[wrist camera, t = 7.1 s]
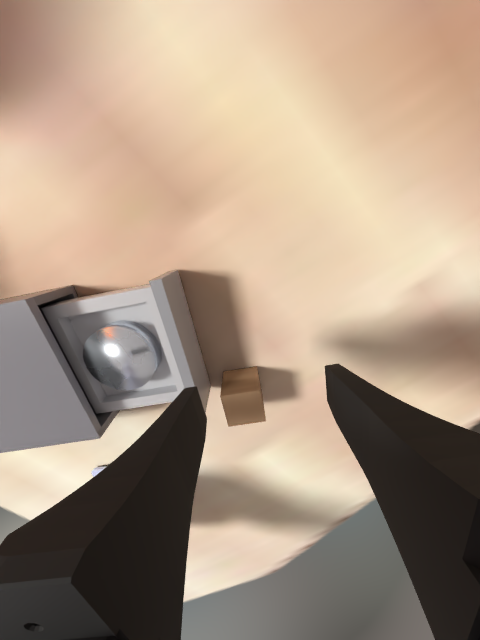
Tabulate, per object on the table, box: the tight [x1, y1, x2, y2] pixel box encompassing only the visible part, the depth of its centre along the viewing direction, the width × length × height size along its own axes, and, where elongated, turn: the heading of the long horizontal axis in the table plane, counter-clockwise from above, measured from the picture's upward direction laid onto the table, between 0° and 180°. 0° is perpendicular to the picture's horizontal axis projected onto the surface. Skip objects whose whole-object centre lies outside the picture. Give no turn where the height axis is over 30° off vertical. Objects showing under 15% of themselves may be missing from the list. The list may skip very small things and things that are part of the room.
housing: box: [0, 285, 119, 453], centre depth 19 cm, size 12×10×4 cm
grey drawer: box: [41, 270, 211, 414], centre depth 18 cm, size 11×10×4 cm
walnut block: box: [220, 366, 266, 426], centre depth 20 cm, size 3×3×4 cm
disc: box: [83, 320, 162, 390], centre depth 18 cm, size 6×6×2 cm
